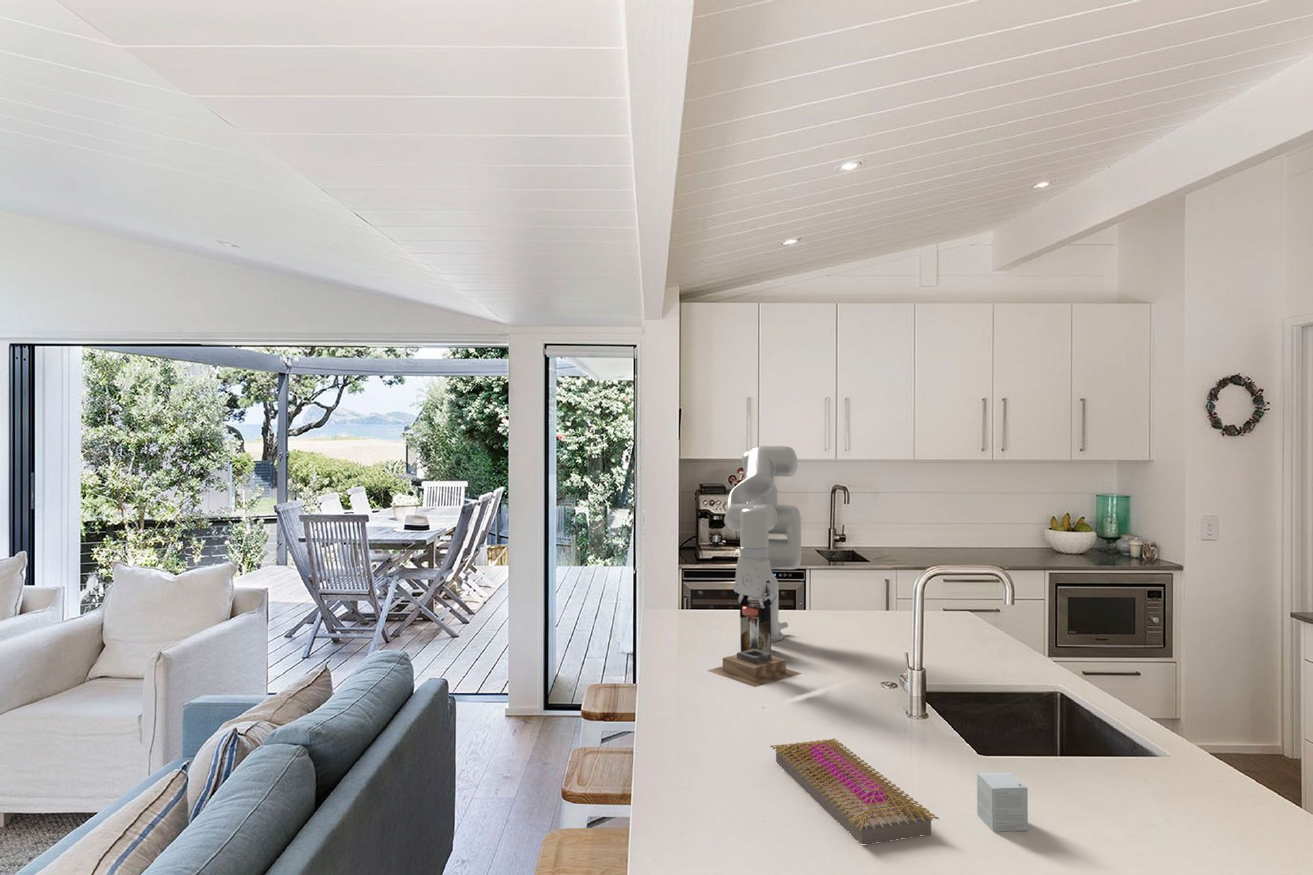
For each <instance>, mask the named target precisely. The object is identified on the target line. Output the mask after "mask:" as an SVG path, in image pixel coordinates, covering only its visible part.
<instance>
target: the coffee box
mask: <svg viewBox="0 0 1313 875" xmlns="http://www.w3.org/2000/svg"><path fill="white" fill-rule="evenodd" d="M763 600H764V602H765V599H763ZM748 601H749V602H750V604H760V602H759V599H758V598H749V599H748ZM739 619H740V620H739V621H740V622H739V623H740V625H739V627H740V628H739V629H740V630H739V632H740V633H739V634H740V636H739V637H740V645H739V646H740V651H739V652H743V651H747V650H751V649H757V650H760V651H763V652H767V653H770V654H772V642H771V606H770V607H769V621H768V622H764V623H760V622H759V648H750V617H749V616H748V617H744V618H741V617H740V616H739Z"/></svg>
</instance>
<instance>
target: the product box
mask: <svg viewBox="0 0 1313 875" xmlns="http://www.w3.org/2000/svg"><path fill="white" fill-rule="evenodd" d="M976 774H977V775H976V776H977V777H976V814H977V817H979V819H981V821H983V823H984V824H985V825H986V826H987V827H988V828H989V829H990V830H991V832H993V833H995V832H997V833H998V832H999V833H1000V832H1022V831H1023V832H1024V831H1026V832H1027V831H1028V830H1029V823H1028V822H1029V821H1028V820H1029V818H1028V817H1029V815H1028V814H1029V813H1028V811H1029V810H1028V809H1029V807H1028V802H1029V801H1028V796H1029V795H1028V794H1029V793H1028V790H1029V788H1028V787H1027V786H1026V785H1025V784H1024V783H1023V782H1021V781H1020V780H1019V779H1018V778H1017V777H1016V776H1014V774H1013V773H1011V772H988V773H987V772H983V773H982V772H981V773H980V772H979V773H976Z"/></svg>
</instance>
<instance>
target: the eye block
mask: <svg viewBox="0 0 1313 875" xmlns="http://www.w3.org/2000/svg"><path fill="white" fill-rule="evenodd" d="M707 672H710V673H713V674H716V675H719V676H721V677H725V678H728V679H731V680H733V681H737V682H739V683H742V684H745V685H748V686H750V687H754V688H756V687H760V686H764V685H766V684H767V685H768V684H771V683H774V682H777V681H780V680H785V679H787V678H792V677H794V676H795V677H796V676H798V675H802V673H801V672H799V671H795V670H792V669H788V668H787V660H786V658H780V657H778V656H774V655H773V654H772V653H771V654H770V653H767V652H763V651H760V650H757V649H751V650H747V651H743V652H741V651H739V652H737V653H736V654H734V655H729V656H726V657H722V665H721V666H719V667H714V668H711V669H707Z"/></svg>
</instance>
